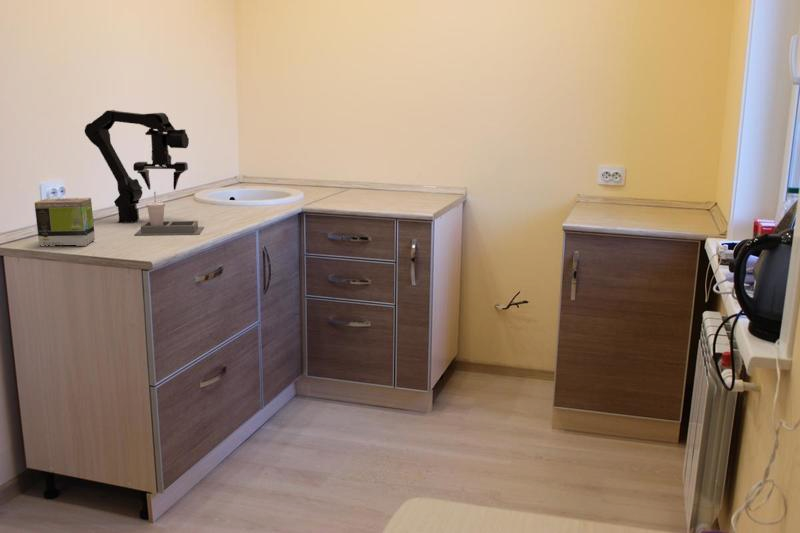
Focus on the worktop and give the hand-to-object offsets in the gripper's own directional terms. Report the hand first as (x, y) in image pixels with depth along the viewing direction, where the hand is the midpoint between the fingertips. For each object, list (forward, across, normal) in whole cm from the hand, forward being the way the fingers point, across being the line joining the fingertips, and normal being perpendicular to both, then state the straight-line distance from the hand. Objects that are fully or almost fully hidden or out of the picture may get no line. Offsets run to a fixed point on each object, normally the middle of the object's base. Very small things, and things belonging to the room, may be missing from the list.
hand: (162, 189), depth 294 cm
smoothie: (+12, -2, +18) cm, 22 cm away
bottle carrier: (+12, -6, +18) cm, 23 cm away
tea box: (+13, +23, +37) cm, 46 cm away
